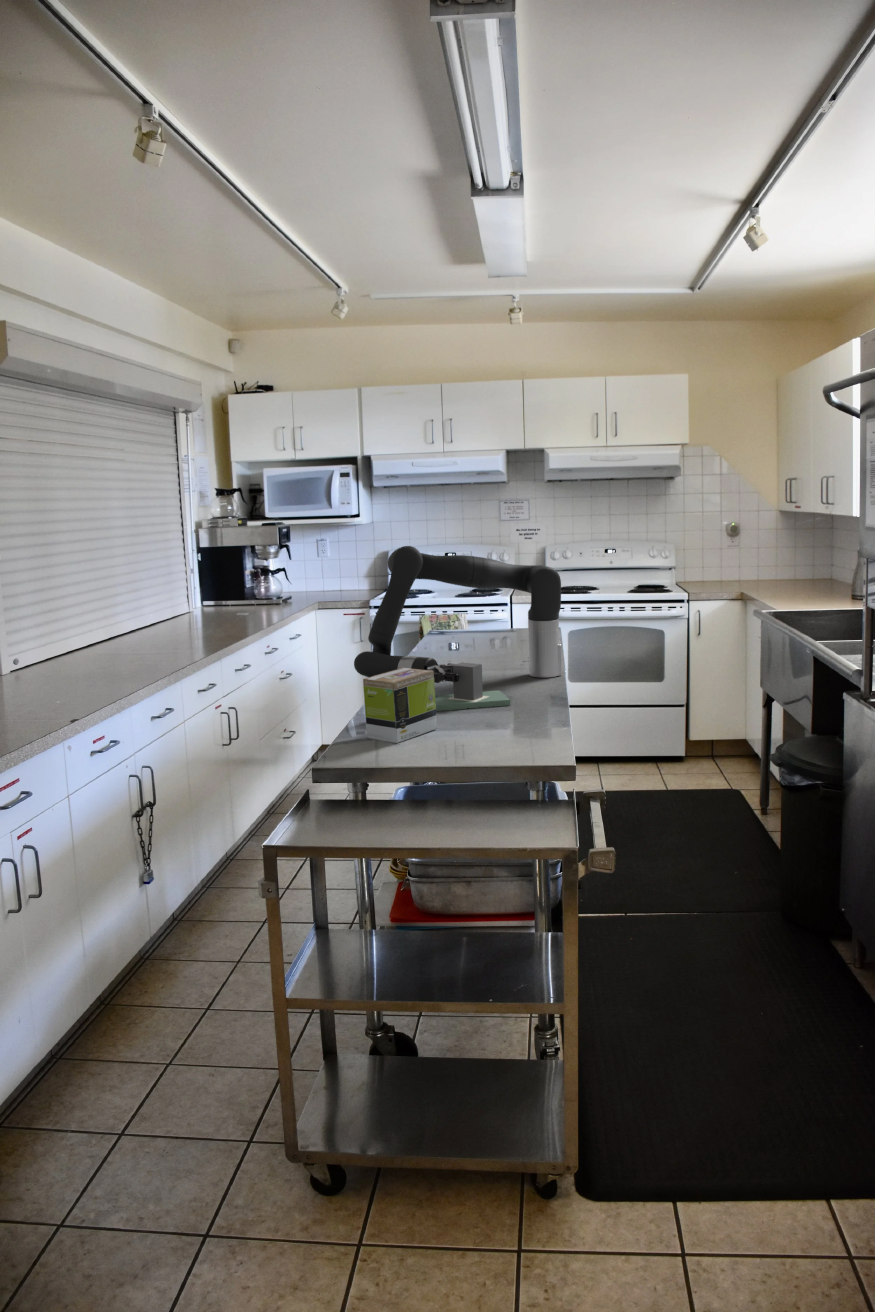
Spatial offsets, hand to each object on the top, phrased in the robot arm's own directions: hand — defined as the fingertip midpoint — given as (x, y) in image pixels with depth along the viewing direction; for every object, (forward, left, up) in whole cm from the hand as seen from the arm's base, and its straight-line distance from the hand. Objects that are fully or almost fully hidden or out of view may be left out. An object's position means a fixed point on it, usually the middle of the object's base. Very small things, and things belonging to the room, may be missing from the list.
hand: (466, 675), depth 253 cm
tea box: (+22, +26, -8) cm, 35 cm away
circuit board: (0, 0, -8) cm, 8 cm away
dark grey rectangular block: (0, 0, -6) cm, 6 cm away
